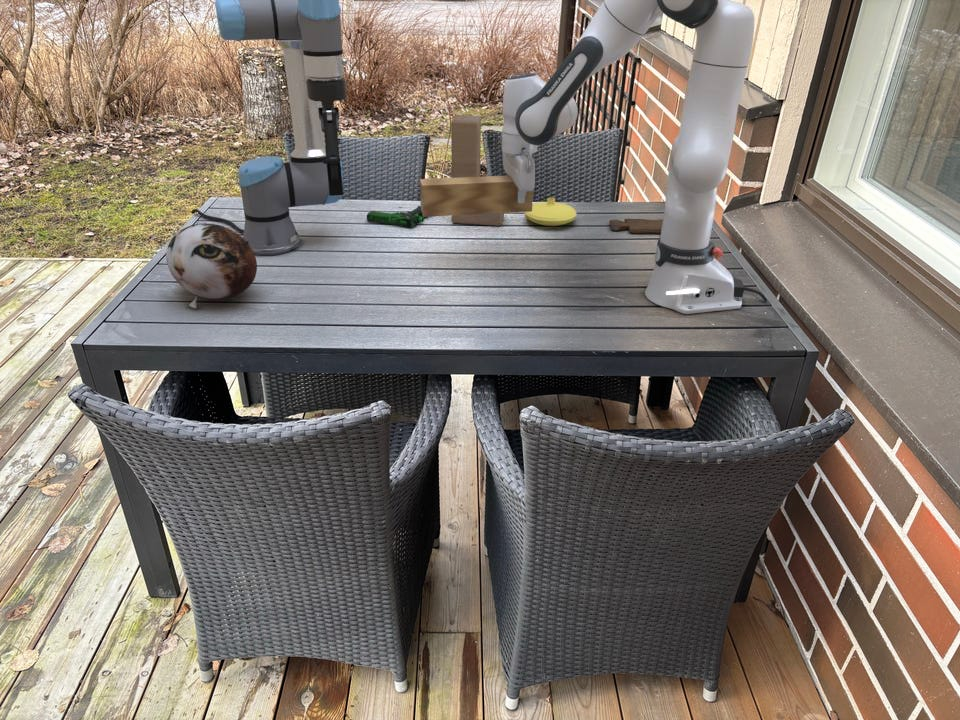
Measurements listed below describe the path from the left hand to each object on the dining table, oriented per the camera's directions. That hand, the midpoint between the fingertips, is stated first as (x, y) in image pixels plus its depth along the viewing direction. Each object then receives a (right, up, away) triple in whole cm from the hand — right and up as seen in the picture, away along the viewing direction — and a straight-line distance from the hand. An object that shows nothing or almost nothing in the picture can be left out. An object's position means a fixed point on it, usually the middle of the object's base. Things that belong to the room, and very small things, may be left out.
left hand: (335, 185), depth 150 cm
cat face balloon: (-32, -22, +19) cm, 43 cm away
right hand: (+40, +5, +33) cm, 52 cm away
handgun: (+7, +6, +66) cm, 67 cm away
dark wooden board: (+82, +2, +62) cm, 103 cm away
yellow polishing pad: (+52, +5, +66) cm, 84 cm away
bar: (+30, +1, +32) cm, 44 cm away
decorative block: (+30, +5, +66) cm, 72 cm away
